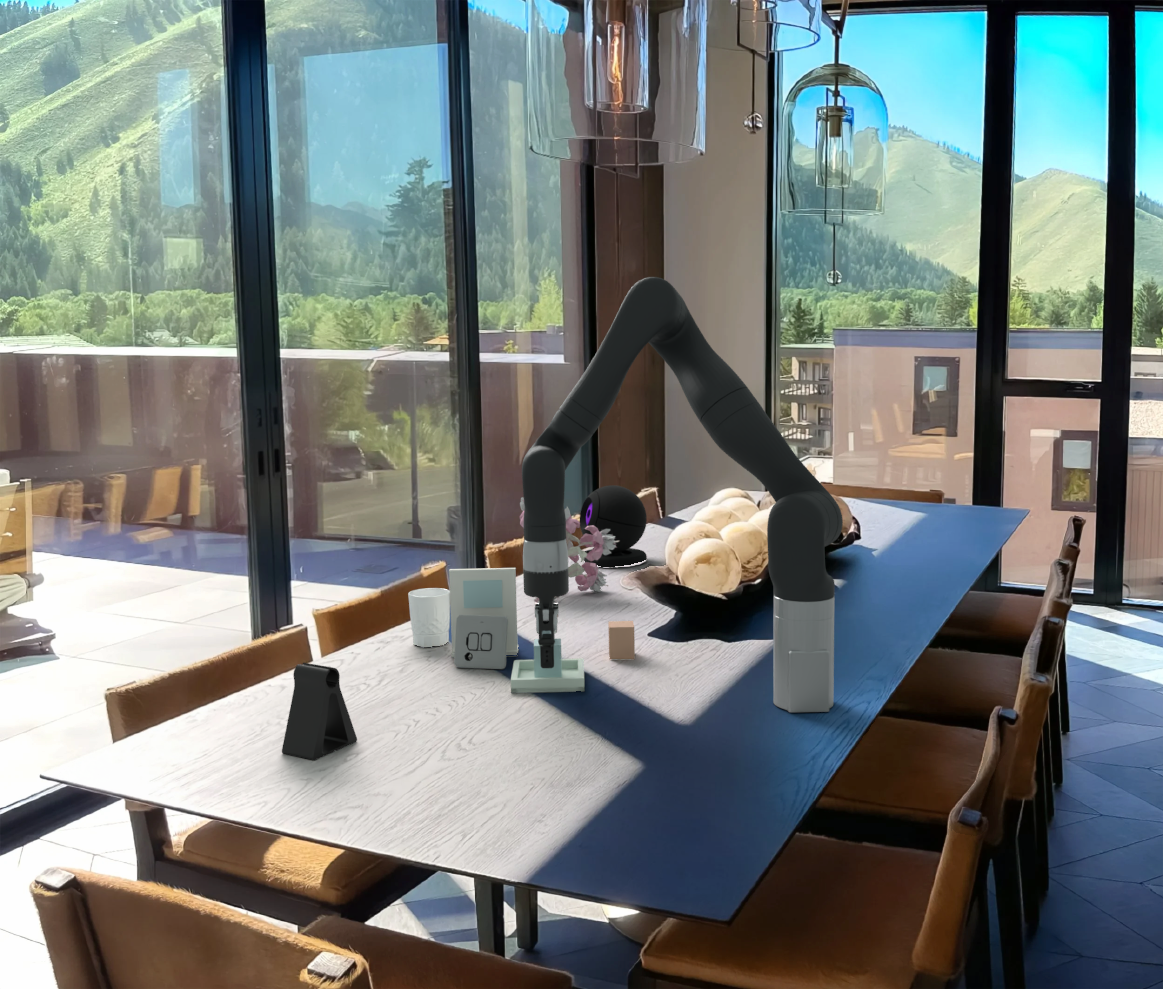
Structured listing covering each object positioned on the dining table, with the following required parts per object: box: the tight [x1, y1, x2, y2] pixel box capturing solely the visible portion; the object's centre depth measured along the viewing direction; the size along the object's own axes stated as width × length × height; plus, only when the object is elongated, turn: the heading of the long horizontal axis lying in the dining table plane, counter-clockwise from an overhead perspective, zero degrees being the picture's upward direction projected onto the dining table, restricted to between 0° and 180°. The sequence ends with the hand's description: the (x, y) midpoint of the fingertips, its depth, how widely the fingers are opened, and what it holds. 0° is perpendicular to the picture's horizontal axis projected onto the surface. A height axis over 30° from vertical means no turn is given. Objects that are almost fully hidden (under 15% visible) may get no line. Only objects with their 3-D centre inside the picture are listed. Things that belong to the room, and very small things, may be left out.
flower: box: [518, 496, 619, 603], centre depth 260 cm, size 20×22×25 cm
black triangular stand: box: [281, 662, 358, 761], centre depth 164 cm, size 9×6×12 cm, turn 149°
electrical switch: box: [453, 615, 508, 670], centre depth 205 cm, size 9×5×9 cm, turn 78°
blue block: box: [533, 638, 562, 678], centre depth 194 cm, size 4×4×6 cm
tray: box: [510, 657, 585, 694], centre depth 195 cm, size 12×12×2 cm
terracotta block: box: [607, 620, 636, 660], centre depth 210 cm, size 4×4×6 cm
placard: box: [448, 567, 519, 658], centre depth 213 cm, size 5×12×16 cm, turn 91°
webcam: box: [579, 484, 648, 567], centre depth 299 cm, size 17×17×20 cm
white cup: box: [407, 587, 451, 648], centre depth 221 cm, size 8×8×10 cm
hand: (548, 660), depth 195 cm, fingers open, 8 cm apart
